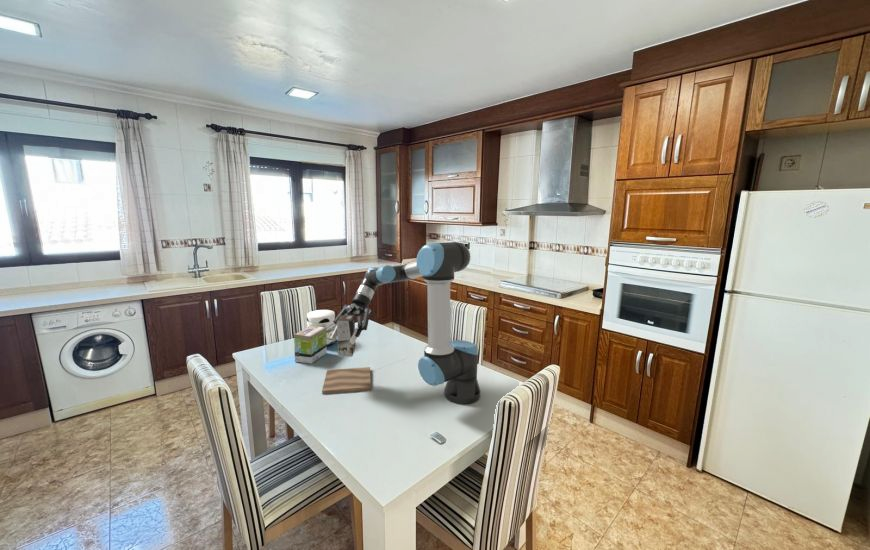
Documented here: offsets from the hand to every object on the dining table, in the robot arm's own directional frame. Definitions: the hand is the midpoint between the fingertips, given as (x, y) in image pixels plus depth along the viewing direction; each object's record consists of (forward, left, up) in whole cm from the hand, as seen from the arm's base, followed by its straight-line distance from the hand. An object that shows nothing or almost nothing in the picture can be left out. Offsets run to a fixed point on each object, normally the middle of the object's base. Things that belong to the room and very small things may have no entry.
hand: (341, 341), depth 151 cm
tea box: (+35, +18, -21) cm, 44 cm away
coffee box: (+3, -2, -7) cm, 7 cm away
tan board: (+5, -2, -21) cm, 21 cm away
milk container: (+55, +15, -21) cm, 60 cm away
